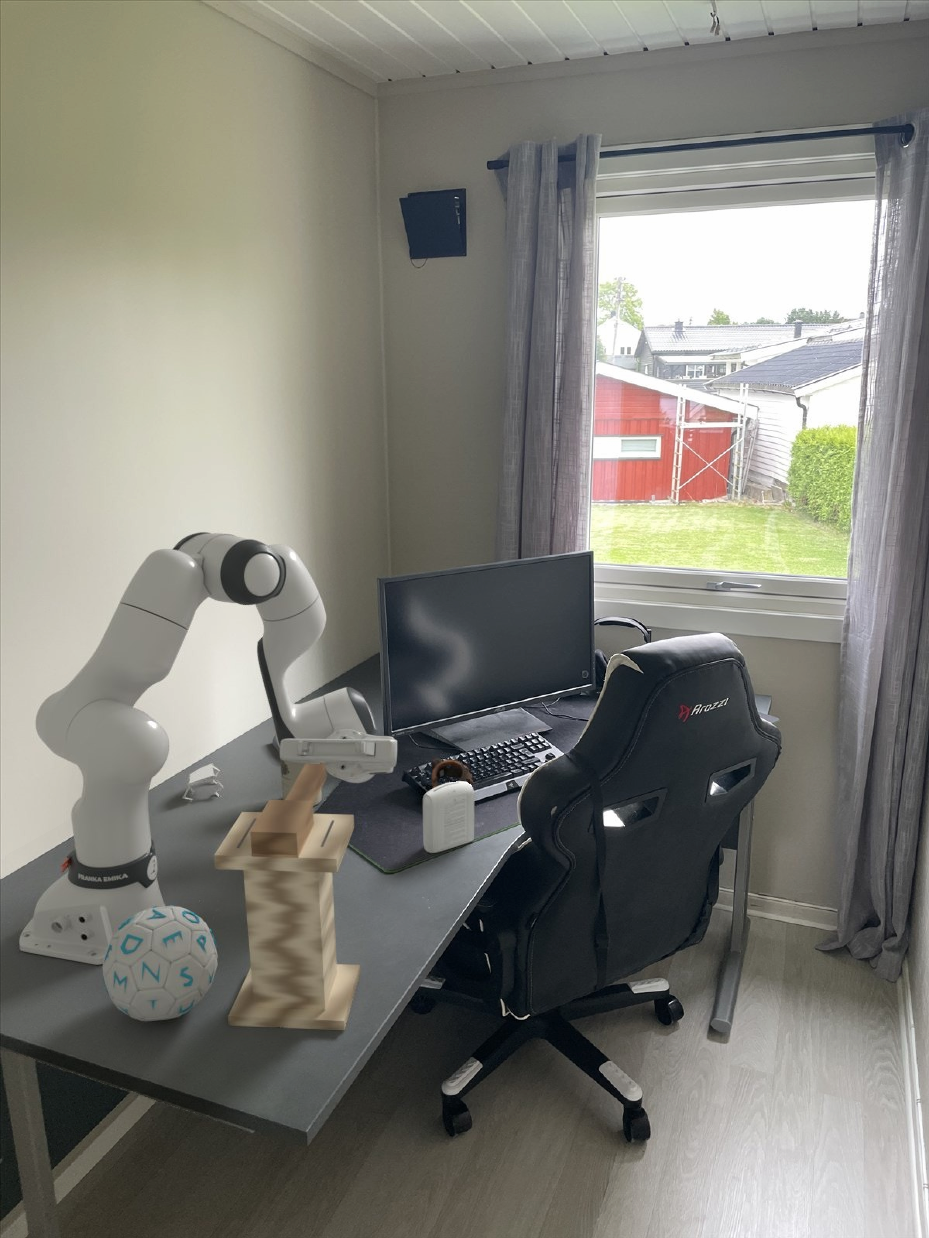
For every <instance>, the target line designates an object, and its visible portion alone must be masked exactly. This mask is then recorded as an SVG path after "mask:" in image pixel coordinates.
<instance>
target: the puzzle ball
mask: <svg viewBox="0 0 929 1238" xmlns="http://www.w3.org/2000/svg"><path fill="white" fill-rule="evenodd" d="M212 932H213V931H212V928H209V925H208V924H207V922H205V921H204V920H203V918H202V917H201V916H198V915H197V914H196V913H195V912H193V911H191V910H189V909H187V908H184V907H182V906H175V905H173V904H170V905H167V906H166V905H165V906H164V907H157V906H154V907H152V908H149V909H146V910H144V911H141V912H139V913H137V914H136V915H134V916H133V917H131V918H130V919H128V920H127V921H125V922H124V923H122V925H121V926H120V927H119V928H118V930H117V931H116V932H115V934H114V935H113V936H112V938H111V940H110V942H109V944H108V947H107V949H106V952H105V955H104V959H103V964H102V975H103V977H102V978H103V982H104V983H103V984H104V988H105V991H106V993H107V995H108V997H109V998H110V1000H111V1001H112V1003H113V1005H115V1006H116V1008H117V1009H118V1010H119V1011H121V1012H122V1013H124V1014H125V1015H127V1016H129V1017H130V1018H132V1019H134V1020H139V1021H141V1022H152V1021H163V1020H164V1021H165V1020H171V1019H176V1018H179V1017H181V1016H182V1015H185V1014H186V1013H188V1012H189V1011H190V1010H191V1009H193V1007H195V1006H196V1005H198V1004H199V1002H200V1001H201V1000H202V999H203V998H204V997H205V996H206V993H208V991H209V989H210V988H211V986H212V984H213V981H214V977H215V974H216V972H217V968H218V963H219V962H218V952H217V948H218V945H217V941H216V939H215V936H214V933H212Z"/></svg>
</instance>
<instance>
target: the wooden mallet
mask: <svg viewBox="0 0 929 1238" xmlns="http://www.w3.org/2000/svg"><path fill="white" fill-rule="evenodd" d="M327 773H328V772H327V769H326V764H309V763H306V764H305V766H304V767H303V769H302V771H301V773H300V774H299V776H298V778H297V780H296V781H295V783H294V785H293V787H292V788H291V790H290V792H289V794H288V796H287V797H286V799H285V800H283V799H269V800H268V802H267V803H266V804H265V806H264V808H263V810H262V813H261V815H260V816H259V818H258V820H257V821H256V823H255V825H254V826H253V828H252V830H251V831H250V835H251V848H252V854H251V855H252V857H285V858H298V857H299V855H300V853H301V851H302V849H303V847H304V845H305V842H306V840H307V838H308V836H309V834H310V832H311V830H312V828H313V825H314V818H313V814H314V806H313V804H314V802H315V800H316V798H317V796H318V794H319V792H320V790H321V791H322V788H323V785H324V784H325V782H326V780H327V778H328V775H327Z"/></svg>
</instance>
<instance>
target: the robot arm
mask: <svg viewBox="0 0 929 1238" xmlns="http://www.w3.org/2000/svg"><path fill="white" fill-rule="evenodd" d="M208 598H210V599H212V600H214V601H217V602H222V603H231V604H238V605H242V606H253V605H254V606H255V607H256V610H257V612H258V614H259V616H260V618H261V621H262V625H263V634H262V637H260V638H259V640H258V641H257V645H256V654H257V661H258V666H259V669H260V670H259V671H260V674H261V678H262V679H261V680H262V683H263V686H264V691H265V694H266V699H267V701H268V706H269V708H270V713H271V716H272V720H273V726H274V727H273V729H274V730H273V731H274V736H275V737H276V740H277V743H278V746H279V747H280V753H279V758H281V759H282V760H285V761H289V762H295V763H322V764H326V769H327V773H328V774H329V775H330V776H332V777H334V778H337V779H339V780H343V781H345V782H347V783H351V784H360V783H361V784H362V783H365V782H367V781H369V780H371V779H372V778H374V776H375V775H381V774H392V773H393V772H394V767H396V765H397V759H398V740H397V739H395V738H394V737H392V736H388V735H376V734H377V724H376V718H375V716H374V712H373V710H372V708H371V706H370V704H369V703H368V700H367V699H366V698H365V696H364V694H362V693H361V692H360V691H358V690H356V689H354V688H353V687H350V686H346V687H342V688H339V689H335V691H334V690H333V691H332V692H329V693H325V694H324V695H322V696H318V697H316V698H313V699H310V700H308V701H305V702H302V703H293V702H292V699H291V695H290V691H289V687H288V683H287V679H286V675H285V674H286V671H287V670H288V669H289V668H290V667H291V665H292V664H293V663H294V662H295V661H296V660H297V659H299V658H300V657H301V656H302V655H304V654H305V653H306V652H307V651H309V650H310V649H311V648H312V647H313V646H314V645H315V644H316V643H317V641H318V640H319V639H320V637H321V636H322V634H323V632H324V629H325V628H326V623H327V613H326V609H325V606H324V601H323V600H322V597H321V595H320V592H319V589H318V588H317V586H316V583H315V581H314V579H313V577H312V576H311V574H310V572H309V570H308V569H307V567H306V566H305V564H304V563H303V561H302V560H301V558H300V556H299V555H298V554H297V553H296V551H295V550H294V549H293V548H292V547H290V546H288V545H285V544H282V543H281V544H280V543H279V544H277V543H276V544H274V543H273V544H269V545H268V544H265V543H263V542H262V541H259V540H256V539H250V538H244V537H241V536H238V535H234V534H230V533H222V532H221V533H220V532H217V533H216V532H215V533H214V532H213V533H212V532H207V531H202V532H196V533H192V534H189V535H187V536H185V537H183V538H181V540H179V541H178V542H177V543H176V544H175V545H174V547H173V548H160V549H157V550H154V551H152V552H151V553H150V554H148V556H147V557H146V558H145V559H144V561H143V562H142V563H141V565H140V566H139V568H138V569H137V570H136V572H135V574H134V575H133V576H132V579H131V580H130V581H129V584H128V585H127V587H126V589H125V590H124V592H123V594H122V596H121V598H120V601H119V603H118V605H117V607H116V609H115V611H114V613H113V616H112V617H111V619H110V621H109V624H108V626H107V628H106V630H105V633H104V634H103V637H102V638H101V639H100V642H99V644H98V645H97V648H96V649H95V651H94V652H93V653H92V655H91V657H90V658H89V659H88V660H87V662H86V663H85V665H84V666H83V667H82V668H81V669H80V670H79V671H78V673H77V674H76V675H75V676H74V678H73V679H71V681H70V682H69V683H68V684H67V685H66V686H64V687H63V688H62V689H60V690H58V691H56V692H54V693H52V694H51V695H49V696H47V698H46V699H45V700H44V701H43V702H42V703H41V705H40V707H39V709H38V711H37V712H36V716H35V729H36V733H37V735H38V737H39V739H40V740H41V741H42V743H44V744H45V745H46V747H47V748H48V749H49V750H50V751H51V752H52V753H53V754H54V755H56V756H58V757H59V758H62V759H64V760H66V761H67V762H71V763H72V764H74V765H76V766H77V767H78V769H79V770H80V772H81V775H82V781H83V782H82V791H81V796H80V797H79V798H78V799H77V800H76V801H75V803H74V804H73V806H72V808H71V813H70V818H71V824H72V832H73V841H74V849H73V850H71V852H69V853H68V855H67V856H66V859H65V860H64V861H63V863H62V864H61V865H60V868H61V873H65V871H66V869H67V870H68V871H67V872H66V873H65V874H64V875H62V876H61V877H59V878H58V879H57V880H56V881H54V882H53V883H52V884H51V885H50V886H49V887H47V889H46V890H45V891H44V892H43V893H42V895H41V896H40V898H39V899H38V900H37V903H36V905H35V908H34V912H33V917H32V918H31V919H30V921H28V923H27V924H26V926H25V927H24V928H23V930H22V931H21V934H20V937H19V941H18V942H19V943H18V944H19V946H18V947H19V950H20V951H21V952H23V953H25V952H26V953H29V954H36V955H40V956H47V957H52V958H57V959H63V960H68V961H73V962H80V963H85V964H90V965H96V966H97V965H103V959H104V955H105V952H106V949H107V947H108V944H109V942H110V940H111V938H112V936H113V935H114V934H115V932H116V931H117V930H118V928H119V927H120V926H121V925H122V923H124V922H125V921H127V920H128V919H130V918H131V917H133V916H134V915H136V914H137V913H139V912H141V911H144V910H146V909H149V908H152V907H154V906H157V907H164V906H166V904H165V902H164V899H163V896H162V893H161V890H160V886H159V882H158V859H157V854H156V847H155V841H154V839H153V838H152V836H151V835H152V834H151V826H150V813H149V812H150V811H149V793H150V788H151V787H150V786H151V783H152V779H153V778H154V777H155V776H157V774H158V773H159V772H160V771H161V770H162V769H163V767H164V765H165V763H166V762H167V759H168V756H169V753H170V738H169V736H168V733H167V731H166V730H165V728H164V727H163V726H162V725H161V724H159V722H157V721H156V720H155V719H154V718H153V717H152V716H150V715H149V714H148V713H146V712H145V711H144V710H141V709H139V708H136V707H134V706H135V705H136V704H137V702H138V700H139V699H140V698H141V697H142V695H144V694H145V692H146V691H148V689H149V688H151V687H152V686H153V685H155V684H157V683H160V682H162V681H163V680H165V679H166V678H167V677H168V675H169V674H170V673H171V670H172V668H173V666H174V664H175V661H176V659H177V657H178V654H179V653H180V649H181V647H182V645H183V643H184V641H185V638H186V636H187V633H188V631H189V629H190V627H191V625H192V622H193V620H194V617H195V614H196V611H197V609H198V608H199V607H200V605H201V604H202V603H203V602H204V601H205V600H207V599H208Z"/></svg>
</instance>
